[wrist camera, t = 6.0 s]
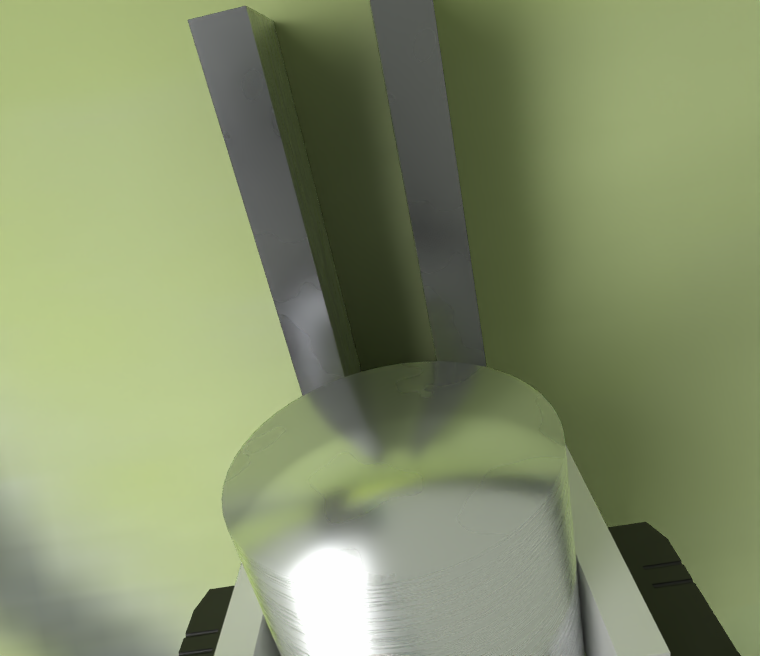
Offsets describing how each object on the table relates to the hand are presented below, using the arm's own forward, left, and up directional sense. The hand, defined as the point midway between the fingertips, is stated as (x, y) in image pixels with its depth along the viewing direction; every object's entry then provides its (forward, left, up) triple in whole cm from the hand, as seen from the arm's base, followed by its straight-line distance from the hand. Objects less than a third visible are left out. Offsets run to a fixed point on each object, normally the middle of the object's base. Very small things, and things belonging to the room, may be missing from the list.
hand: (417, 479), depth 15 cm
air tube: (+7, 0, +1) cm, 7 cm away
